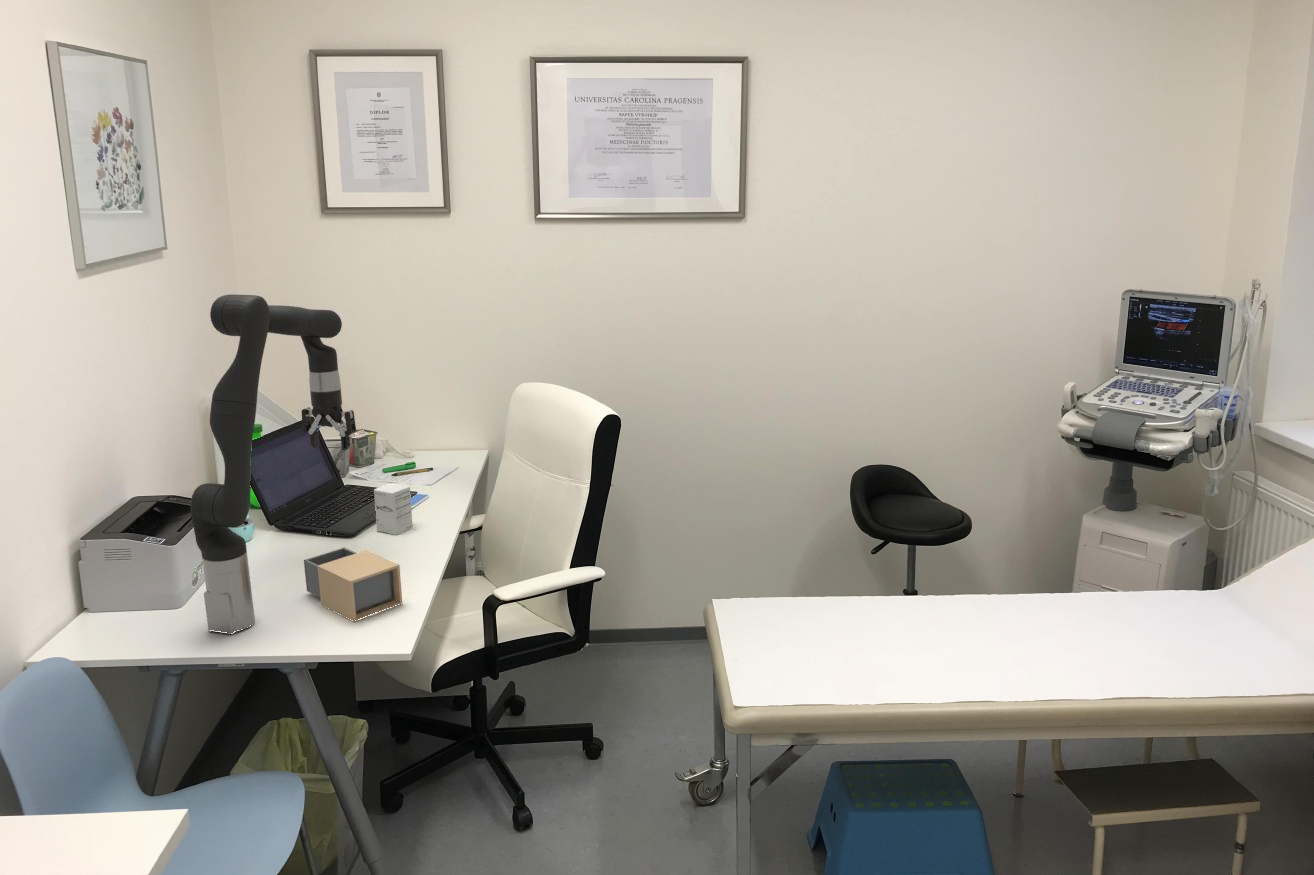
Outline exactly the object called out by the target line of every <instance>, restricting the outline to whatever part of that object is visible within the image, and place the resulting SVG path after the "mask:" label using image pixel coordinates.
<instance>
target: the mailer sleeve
mask: <svg viewBox="0 0 1314 875" xmlns="http://www.w3.org/2000/svg"><path fill="white" fill-rule="evenodd" d="M317 567H318V577H319V587H320V597H321V598H320V597H319V598H320V603H321V604H320V605H321V606H322V605H323V606H322V607H324V606H325V607H324V608H326V607H327V608H326V609H328V608H329V609H328V610H330V611H331V612H333V611H335V612H337V613H339V614H341V615H343V616H345V617H347V618H349V619H351V620H353V621H355V620H358V619H360V618H363V617H365V616H368V615H370V614H373V613H375V612H379V611H382V610H384V609H387V608H390V607H393V606H395V605H398V604H400V603H402V604H403V594H402V582H401V581H402V580H401V568H400V567H401V566H400V564H399V563H398V562H394V561H391V560H389V559H387V558H385V557H383V556H380V555H378V554H376V553H373V552H371V551H368V550H363V551H360V552H356V554H353V555H349V556H346V557H343V558H340V559H337V560H334V561H331V562H328V563H324V564H321V565H318V566H317ZM390 570H391V571H392V584H393V597H394V599H393V600H390V601H387V602H385V603H382V604H379V605H377V606H374V607H371V608H368V609H366V610H363V611H360V612H358V613H356V610H355V598H354V587H353V583H355V582H358V581H361V580H364V579H367V578H369V577H372V576H375V575H378V574H381V573H384V572H387V571H390ZM393 608H394V607H393ZM335 612H334V613H335ZM337 613H336V614H337ZM339 614H338V615H339ZM341 615H340V616H341ZM343 616H342V617H343ZM345 617H344V618H345ZM347 618H346V619H347ZM349 619H348V620H349ZM351 620H350V621H351ZM353 621H352V622H353Z"/></svg>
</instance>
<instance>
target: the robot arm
mask: <svg viewBox="0 0 1314 875" xmlns="http://www.w3.org/2000/svg"><path fill="white" fill-rule="evenodd" d="M209 314H210V315H209V316H210V321H211V324H212V326H213V328H214V329H215V330H216V331H217V332H218V333H220V334H223V335H225V336H229V337H239V341H238V347H237V351H236V354H235V357H234V359H233V361H232V363H231V364H230V366H229V367H228V369H227V370H226V372H225V373H224V374H223V375H222V377H221V378H220V379H219V381H218V383H217V384H216V386H215V388H214V390H213V392H212V396H211V397H212V398H211V405H210V414H209V426H210V429H211V432H212V434H213V437H214V439H215V442H216V443H217V445H218V448H219V450H220V453H221V455H222V458H223V462H224V480H223V483H212V482H211V483H210V482H209V483H207V482H206V483H203V484H200V485H199V486H197V487H196V488H195V489H194V491H193V492H192V495H191V499H190V515H191V522H192V526H193V531H194V537H195V542H196V545H197V548H198V550H200V552H201V553H200V554H201V560H202V566H203V574H204V582H205V591H204V592H203V598H204V606H205V613H206V614H205V615H206V622H207V629H208V631H209V630H214V631H221V632H227V633H233V632H234V631H237V630H241V629H245V628H247V627H249V626H250V625H252V624H253V623H254V622H255V623H256V619H255V618H256V615H255V610H254V609H255V608H254V602H253V591H252V584H251V582H252V581H251V575H250V567H249V559H248V558H249V557H248V556H249V555H248V550H247V543H246V540H245V538H244V537H243V536H242V535H239V534H238V533H236V532H234V531H233V530H232V529H230V528H238V527H240V526H242V525H243V524H245V521H246V520H247V517H248V515H249V511H250V506H251V504H250V481H251V451H252V439H253V431H254V424H256V417H257V416H256V414H257V403H258V390H259V381H260V375H261V369H262V368H261V367H262V363H263V361H262V360H263V357H264V352H265V347H266V342H267V338H268V333H269V334H275V335H283V336H284V335H285V336H294V337H295V336H296V337H300V338H301V341H302V344H303V346H304V349H305V352H306V355H307V360H308V369H309V372H308V373H309V376H308V377H309V379H308V382H309V392H310V404H311V407H312V408H311V407H305V408H303V409H301V427H302V431H303V432H307V433H308V434H309V438H310V445H311V446H312V449H317V448H320V446H321V443H320V434H319V431H320V428H321V427H328V428H334V429H335V430H336V431H338V433H339V435H341V436H340V442H341V451H348V450H349V449H350V447H351V439H350V435H353V434H355V433H356V432H357V428H356V427H357V426H356V418H355V412H354V410H352V409H350V410H343V408H342V407H343V406H342V404H343V399H342V384H341V377H340V372H339V365H338V364H339V363H338V354H337V350H336V348H334V347H332V346H330V345H326V344H325V343H323V341H322V339H332V338H335V337H336V336H337V335H339V333H340V332H341V331H342V327H343V323H342V319H341V317H340V315H339V314H338V313H337V312H336V311H334V310H332V309H312V308H304V307H301V306H293V305H276V304H275V305H270V304H268V302H267V300H266V299H265V298H264V297H262V296H260V295H257V294H256V295H255V294H224V295H221V296H219V297H217V298H216V299H215V300H214V301H213V302H212V305H211V307H210V311H209ZM321 338H322V339H321ZM312 417H313V418H314V421H313V423H312ZM255 623H254V624H255ZM254 624H253V625H254ZM253 625H252V626H253ZM245 630H246V629H245Z"/></svg>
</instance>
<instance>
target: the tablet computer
mask: <svg viewBox="0 0 1314 875" xmlns="http://www.w3.org/2000/svg"><path fill="white" fill-rule="evenodd" d="M415 494H416V495H415V496H414V497H413V498H412V499H411V509H413V508H415V507H416V506H418V505H420V504H421V503H422V502H424V501H426V500H428V499H429V498H430V495H429V494H424V493H423V494H421V493H415Z"/></svg>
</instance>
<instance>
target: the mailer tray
mask: <svg viewBox="0 0 1314 875" xmlns="http://www.w3.org/2000/svg"><path fill="white" fill-rule="evenodd" d="M356 553H357V552H356V551H354V550H351V549H349V548H347V547H342V548H338V549H334V550H332V551H328V552H325V553H322V554H319V555H316V556H312V557H310V558H306V559H303V566H304V574H305V585H306V586H305V587H306V592H308V593H310V594H312V595H315V596H316V597H318V598H320V599H321V597H320V587H319V577H318V567H317V566H318V565H321V564H324V563H328V562H331V561H334V560H337V559H340V558H343V557H346V556H349V555H353V554H356ZM353 587H354V598H355V610H356V613H358V612H360V611H363V610H366V609H368V608H371V607H374V606H377V605H379V604H382V603H385V602H387V601H390V600H393V599H394V597H393V584H392V571H391V570H390V571H387V572H384V573H381V574H378V575H375V576H372V577H369V578H367V579H364V580H361V581H358V582H355V583H353Z"/></svg>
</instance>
